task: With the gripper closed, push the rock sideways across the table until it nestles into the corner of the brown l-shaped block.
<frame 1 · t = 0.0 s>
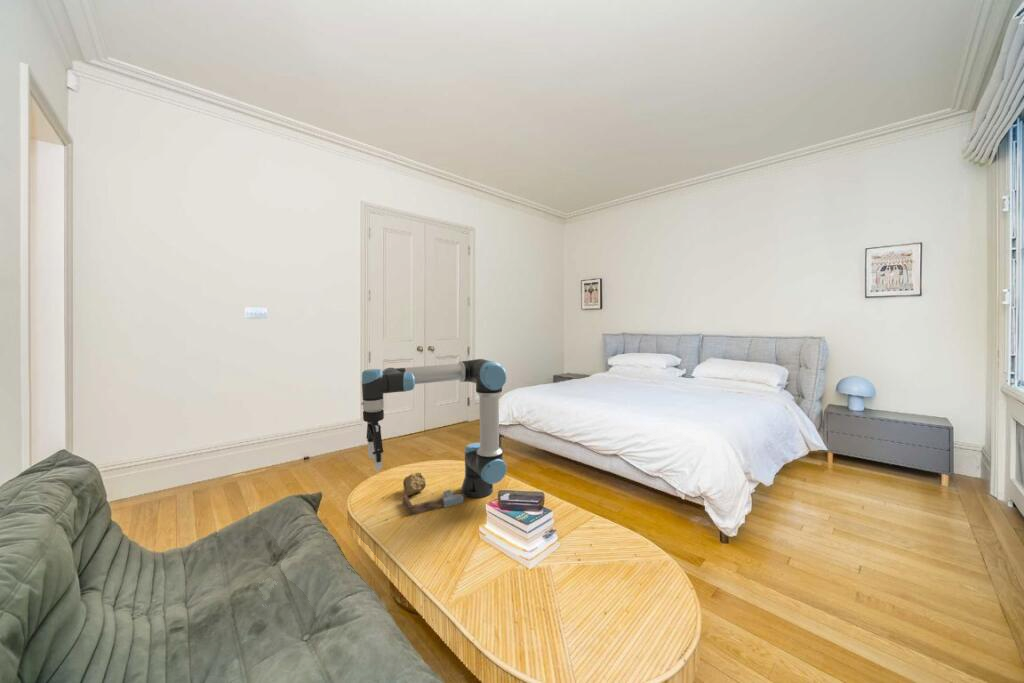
hand: (375, 463, 152), 28 cm above the table, fingers open, 13 cm apart
t block: (450, 500, 180), on the table
brown l-shaped block: (426, 510, 172), on the table
rock: (415, 494, 187), on the table
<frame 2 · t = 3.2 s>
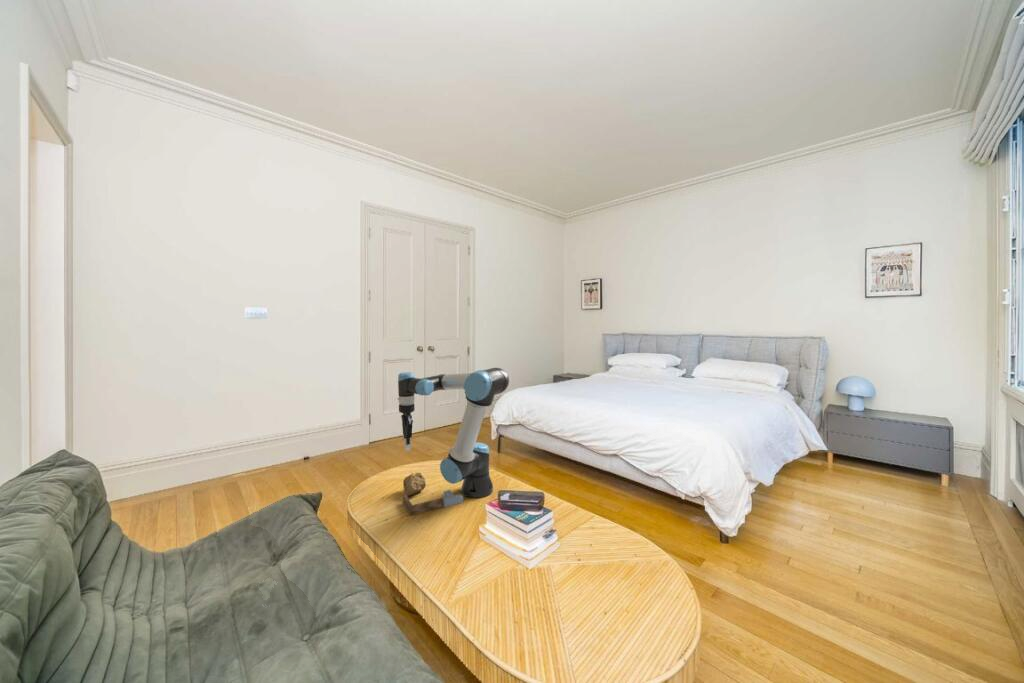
hand: (407, 450, 196), 18 cm above the table, fingers closed
nothing on the table moved.
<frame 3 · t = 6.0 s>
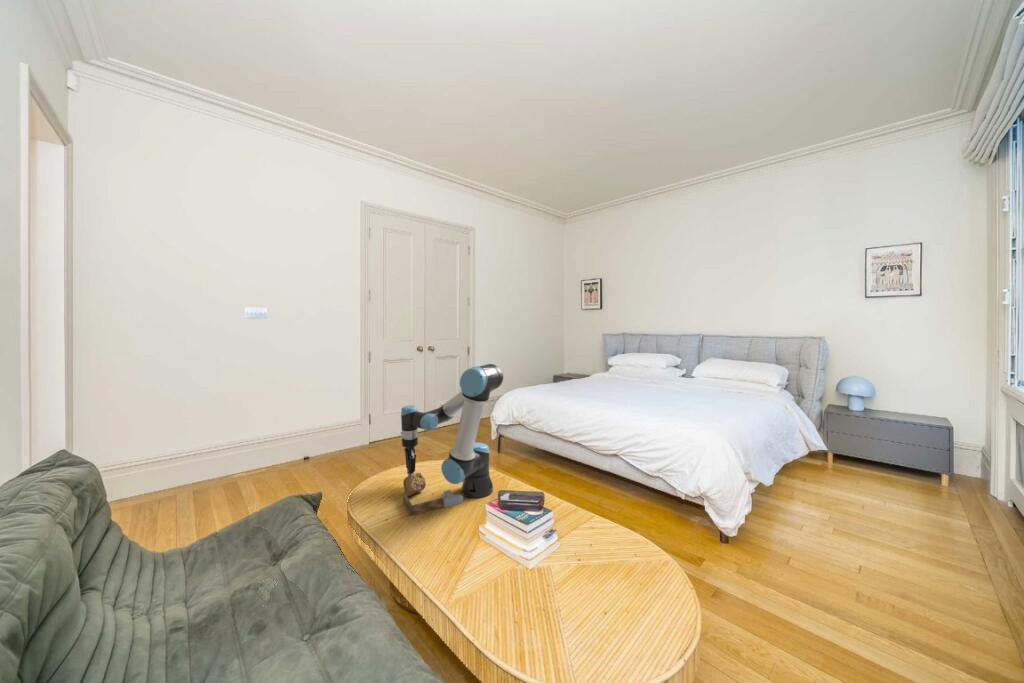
hand: (410, 484, 194), 2 cm above the table, fingers closed
rock: (415, 494, 187), on the table, touching gripper
everything else where it was.
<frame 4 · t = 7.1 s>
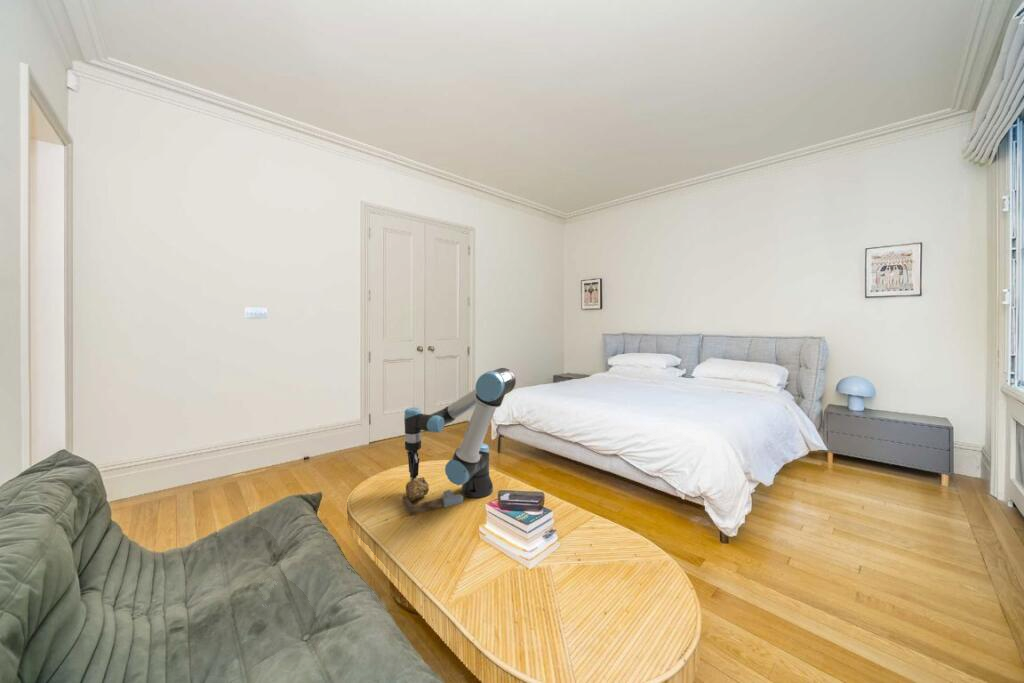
hand: (413, 488, 189), 2 cm above the table, fingers closed
rock: (417, 499, 182), on the table, touching gripper
everything else where it was.
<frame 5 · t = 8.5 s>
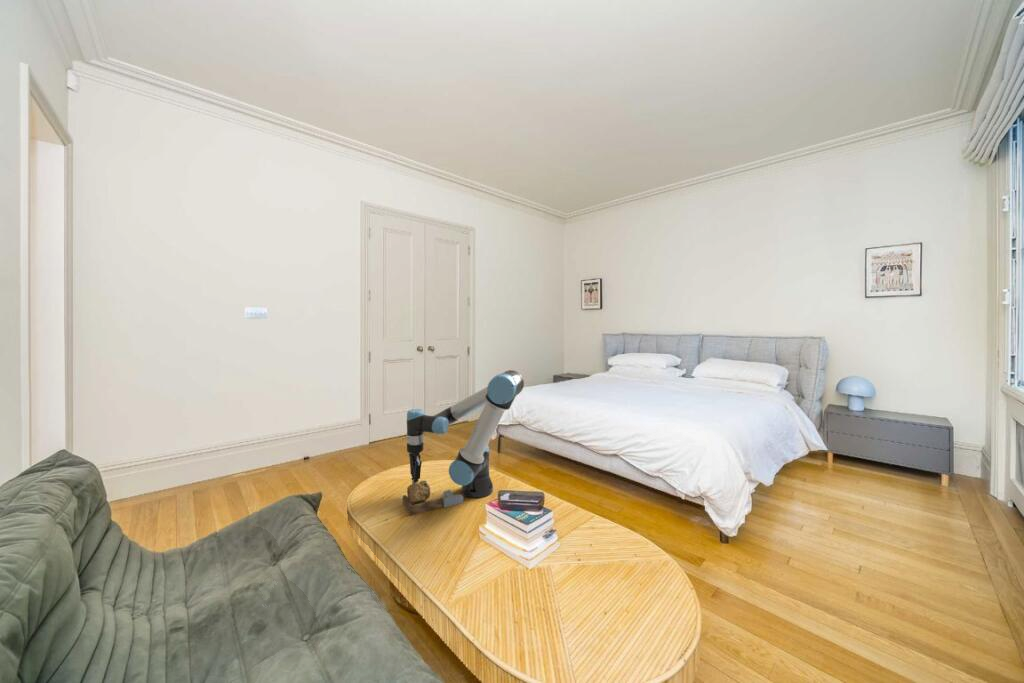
hand: (415, 491, 185), 2 cm above the table, fingers closed
rock: (418, 503, 178), on the table, touching gripper
everything else where it was.
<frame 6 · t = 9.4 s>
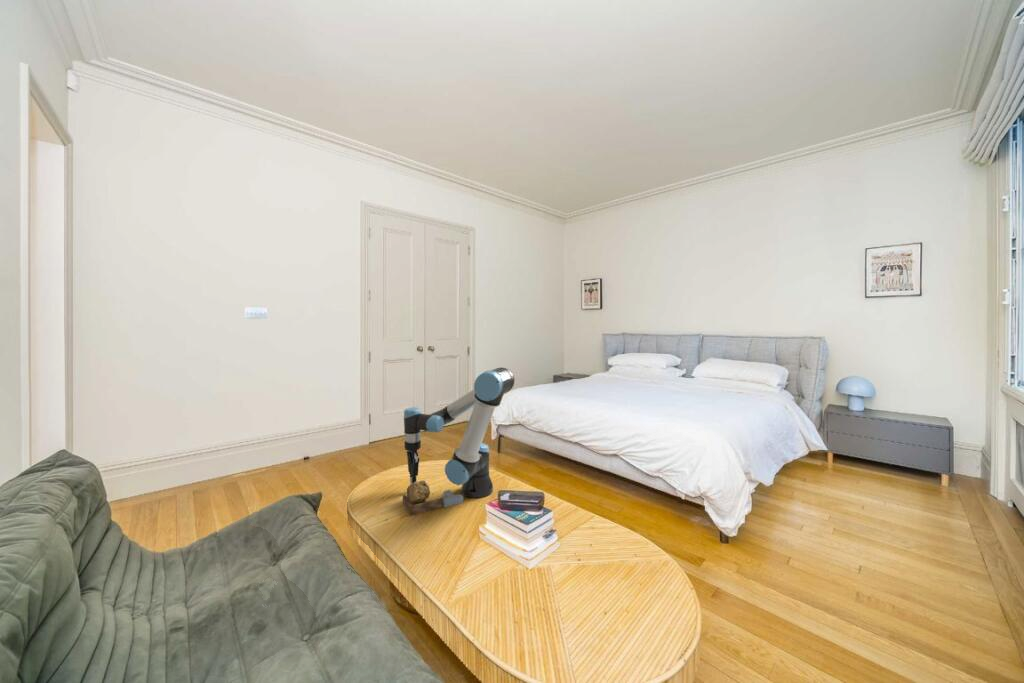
hand: (413, 488, 189), 2 cm above the table, fingers closed
rock: (419, 503, 178), on the table
everything else where it was.
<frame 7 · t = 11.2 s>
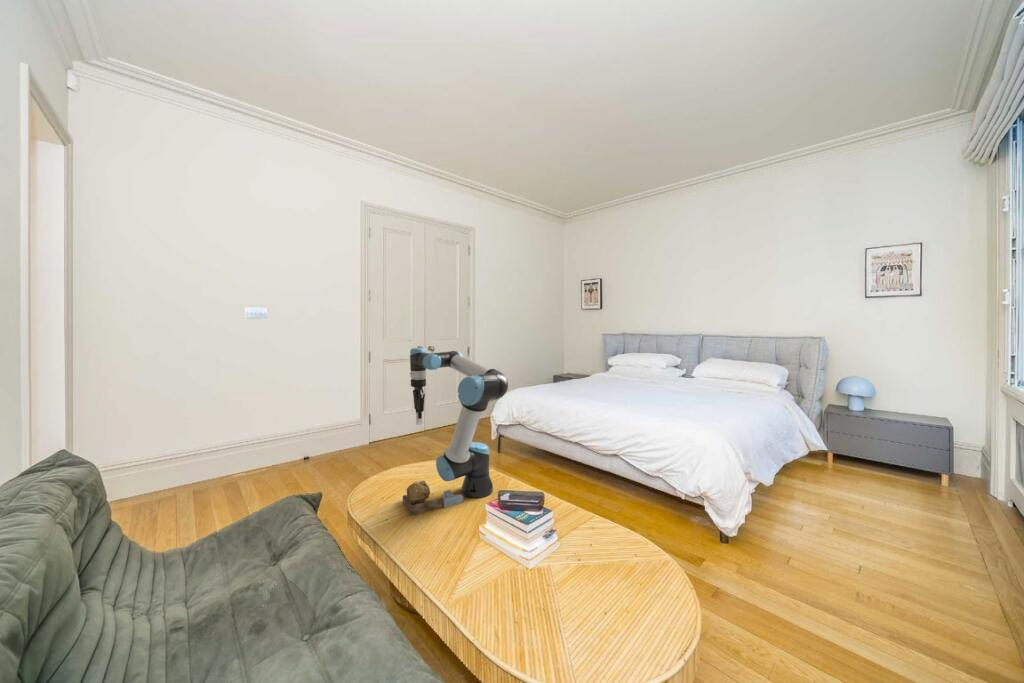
hand: (419, 424, 200), 29 cm above the table, fingers closed
nothing on the table moved.
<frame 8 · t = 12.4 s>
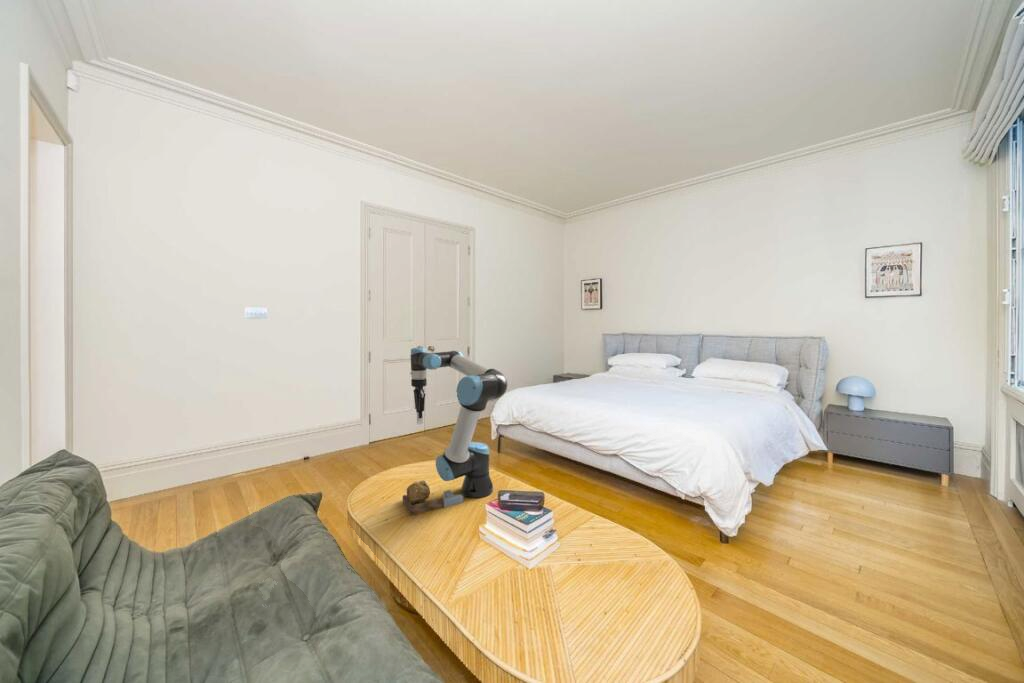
hand: (419, 423, 200), 29 cm above the table, fingers closed
nothing on the table moved.
at the end: rock inside the target area (1.4 cm from its centre), on the table; rock moved 9.8 cm from its start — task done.
